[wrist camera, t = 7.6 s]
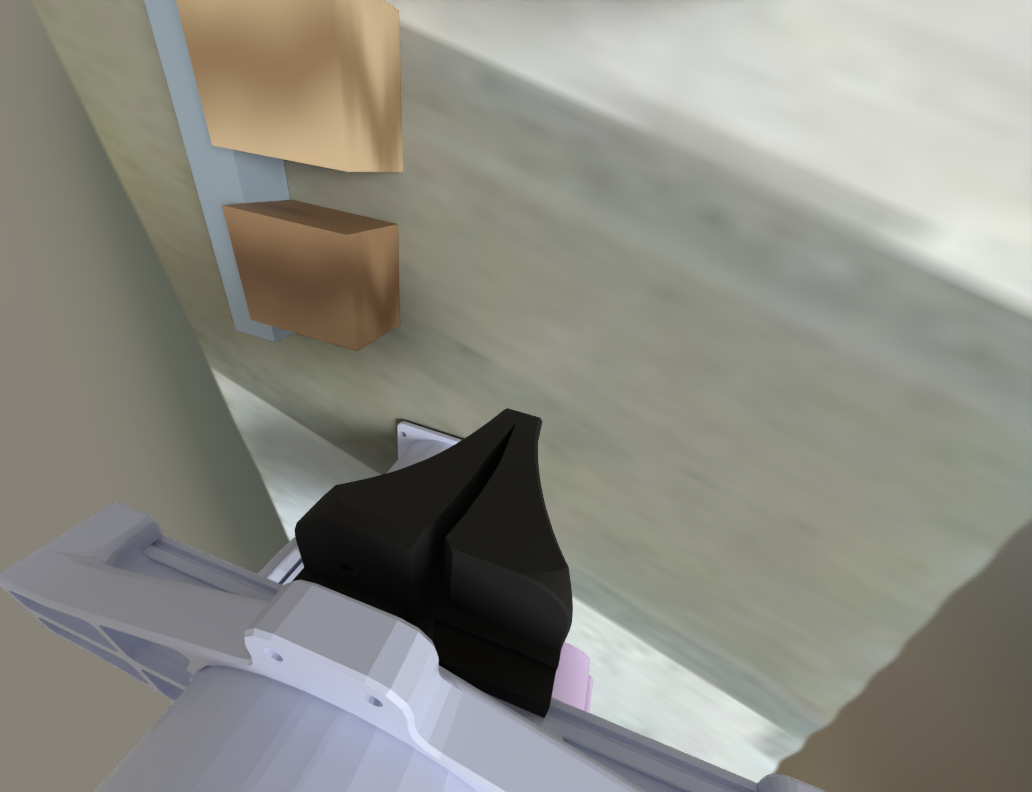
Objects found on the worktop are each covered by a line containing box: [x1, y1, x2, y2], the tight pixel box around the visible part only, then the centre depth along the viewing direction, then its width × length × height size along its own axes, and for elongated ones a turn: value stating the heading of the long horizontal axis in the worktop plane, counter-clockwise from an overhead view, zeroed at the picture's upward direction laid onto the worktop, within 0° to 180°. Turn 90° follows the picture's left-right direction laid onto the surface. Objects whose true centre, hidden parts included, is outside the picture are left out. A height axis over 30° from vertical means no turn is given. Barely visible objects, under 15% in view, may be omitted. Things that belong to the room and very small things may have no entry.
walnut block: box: [222, 200, 400, 351], centre depth 21 cm, size 6×7×4 cm
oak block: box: [176, 0, 403, 172], centre depth 17 cm, size 6×7×4 cm
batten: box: [144, 0, 294, 342], centre depth 20 cm, size 18×3×3 cm, turn 171°
